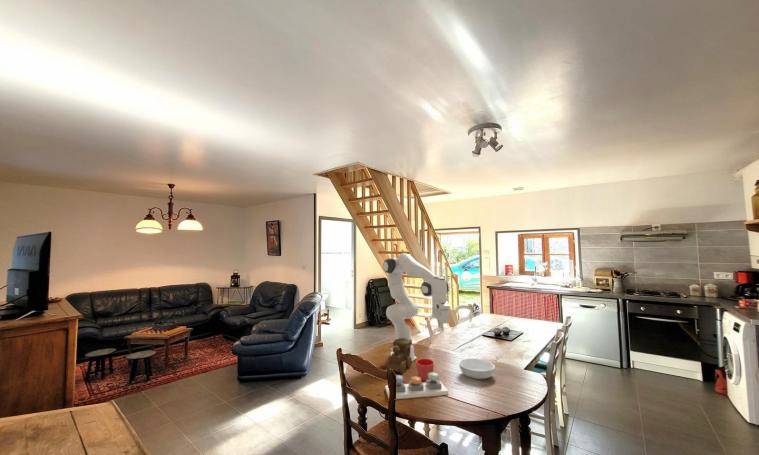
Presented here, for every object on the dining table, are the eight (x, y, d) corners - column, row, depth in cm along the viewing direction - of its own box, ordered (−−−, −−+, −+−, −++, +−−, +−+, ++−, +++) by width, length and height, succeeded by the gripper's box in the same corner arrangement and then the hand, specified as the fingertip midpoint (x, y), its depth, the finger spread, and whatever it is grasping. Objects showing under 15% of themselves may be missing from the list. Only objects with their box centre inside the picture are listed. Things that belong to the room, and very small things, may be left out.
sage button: (427, 381, 170) (426, 372, 170) (436, 380, 171) (436, 372, 171) (430, 385, 164) (430, 376, 165) (440, 384, 165) (439, 376, 165)
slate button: (391, 383, 167) (391, 375, 167) (401, 383, 168) (401, 374, 168) (393, 388, 161) (393, 379, 162) (404, 387, 162) (403, 378, 163)
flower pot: (420, 383, 176) (420, 366, 177) (413, 375, 187) (413, 359, 188) (437, 381, 179) (437, 364, 180) (429, 373, 190) (429, 357, 190)
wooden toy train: (398, 362, 210) (397, 337, 211) (413, 365, 204) (413, 339, 205) (385, 373, 192) (384, 345, 193) (401, 376, 187) (401, 348, 188)
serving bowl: (498, 384, 173) (497, 372, 174) (460, 382, 177) (459, 369, 178) (492, 370, 194) (491, 359, 194) (458, 368, 198) (458, 357, 198)
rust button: (409, 385, 168) (409, 376, 169) (419, 384, 169) (419, 376, 169) (412, 389, 163) (412, 381, 163) (422, 389, 164) (422, 380, 164)
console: (385, 389, 169) (385, 380, 170) (440, 384, 174) (440, 376, 174) (389, 399, 158) (388, 390, 158) (448, 394, 162) (447, 385, 162)
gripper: (429, 301, 190) (429, 323, 189) (440, 307, 170) (441, 332, 169) (439, 300, 191) (439, 323, 190) (451, 306, 171) (452, 331, 170)
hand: (440, 327), depth 179 cm, fingers closed
